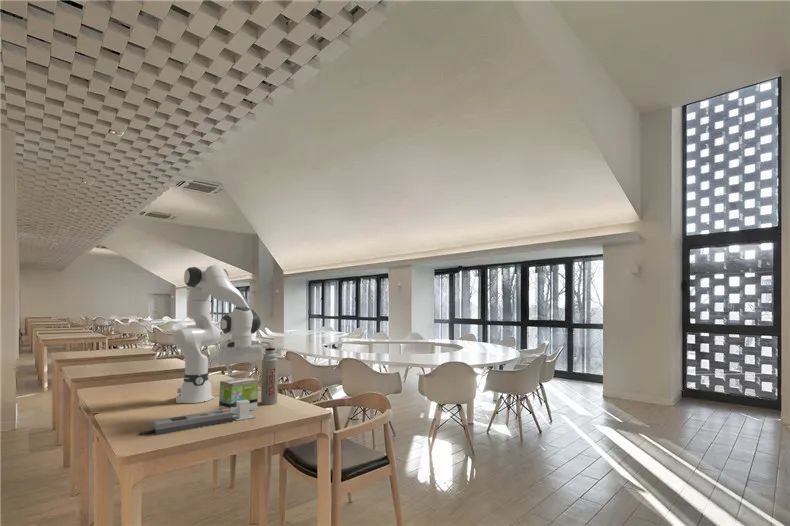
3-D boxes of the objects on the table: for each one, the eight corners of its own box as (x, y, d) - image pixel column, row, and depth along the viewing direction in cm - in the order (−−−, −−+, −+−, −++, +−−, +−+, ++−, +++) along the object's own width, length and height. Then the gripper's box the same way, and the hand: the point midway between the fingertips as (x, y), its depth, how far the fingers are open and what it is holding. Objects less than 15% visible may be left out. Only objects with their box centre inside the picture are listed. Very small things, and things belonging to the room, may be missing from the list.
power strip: (136, 432, 182) (137, 420, 182) (226, 418, 204) (226, 407, 204) (140, 437, 176) (140, 425, 176) (232, 421, 198) (232, 410, 198)
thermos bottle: (277, 404, 230) (278, 348, 233) (260, 405, 228) (262, 349, 230) (277, 400, 238) (277, 347, 240) (261, 401, 236) (262, 347, 238)
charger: (236, 416, 205) (236, 400, 205) (245, 415, 208) (246, 399, 208) (239, 418, 201) (239, 402, 202) (249, 417, 204) (249, 400, 205)
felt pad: (230, 417, 205) (230, 416, 205) (248, 414, 210) (248, 413, 210) (237, 421, 199) (237, 420, 199) (254, 418, 204) (254, 417, 204)
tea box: (230, 415, 208) (231, 383, 209) (218, 412, 214) (219, 380, 216) (258, 409, 220) (258, 378, 221) (245, 406, 226) (246, 376, 227)
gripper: (260, 340, 216) (259, 369, 215) (216, 343, 203) (215, 374, 202) (265, 341, 211) (265, 371, 210) (221, 344, 198) (220, 376, 198)
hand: (240, 373), depth 206 cm, fingers open, 8 cm apart
